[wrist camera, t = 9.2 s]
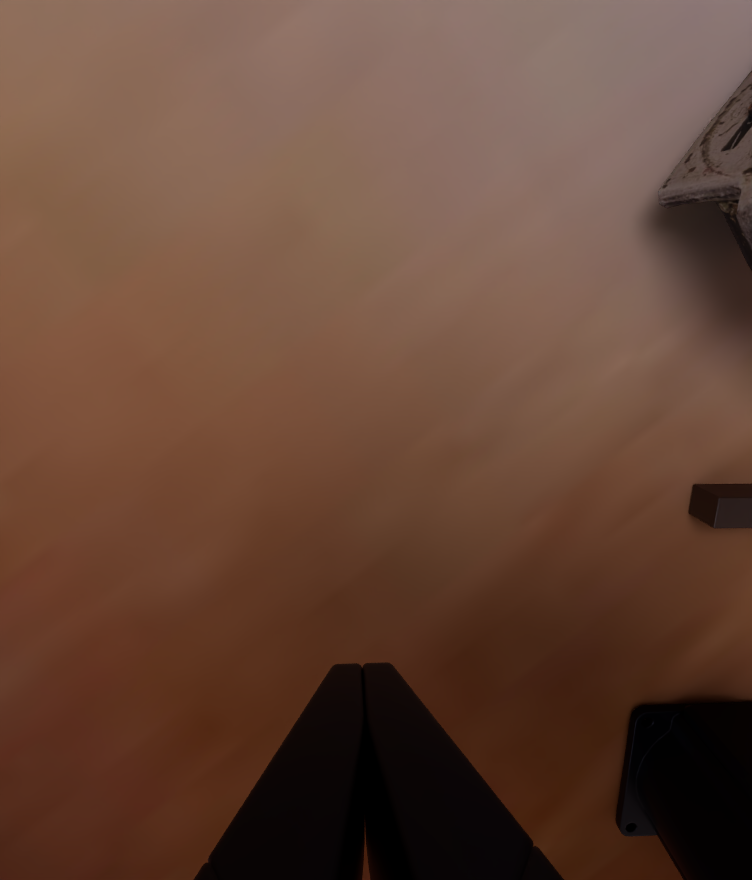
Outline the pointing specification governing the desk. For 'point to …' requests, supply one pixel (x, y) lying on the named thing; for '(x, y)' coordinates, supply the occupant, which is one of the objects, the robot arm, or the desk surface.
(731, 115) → the mechanical counter
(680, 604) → the desk surface
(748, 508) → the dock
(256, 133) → the desk surface
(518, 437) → the desk surface
